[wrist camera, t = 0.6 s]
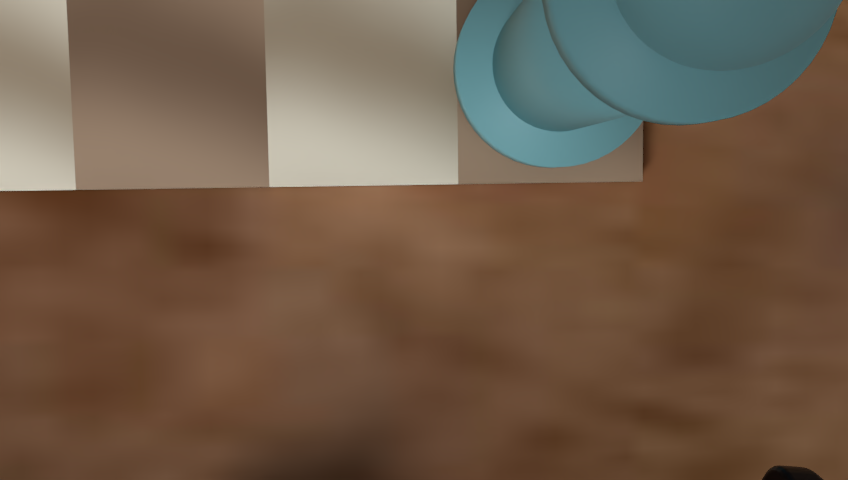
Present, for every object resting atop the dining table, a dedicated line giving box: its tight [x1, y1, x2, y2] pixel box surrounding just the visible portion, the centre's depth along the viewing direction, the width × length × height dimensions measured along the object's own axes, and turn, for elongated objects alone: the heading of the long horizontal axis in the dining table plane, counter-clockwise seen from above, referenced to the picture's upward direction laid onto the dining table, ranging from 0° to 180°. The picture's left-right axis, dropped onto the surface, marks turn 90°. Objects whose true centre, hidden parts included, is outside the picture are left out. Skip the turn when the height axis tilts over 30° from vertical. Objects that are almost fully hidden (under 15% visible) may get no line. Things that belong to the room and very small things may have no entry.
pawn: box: [453, 0, 842, 168], centre depth 14 cm, size 5×5×12 cm
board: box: [0, 0, 643, 191], centre depth 20 cm, size 6×20×1 cm, turn 91°
